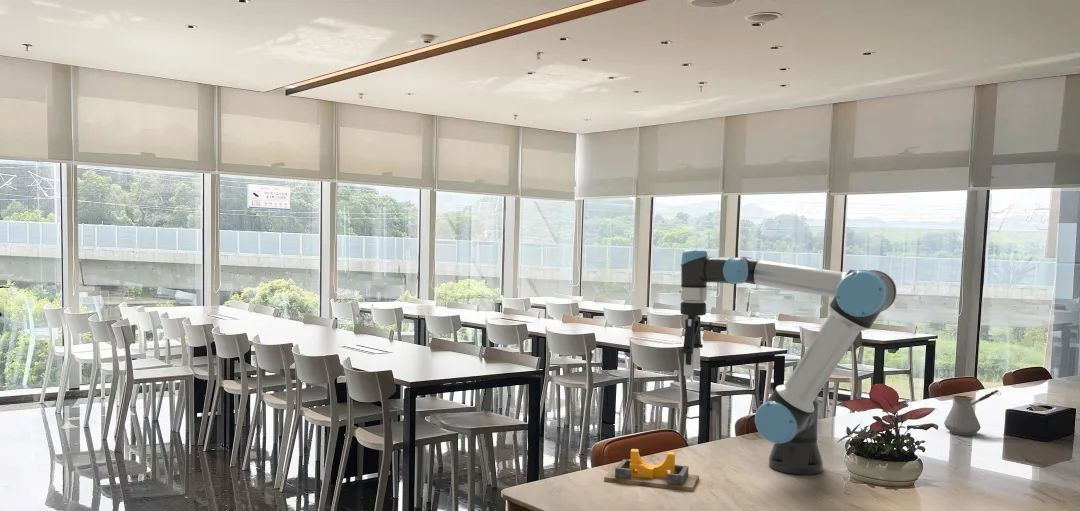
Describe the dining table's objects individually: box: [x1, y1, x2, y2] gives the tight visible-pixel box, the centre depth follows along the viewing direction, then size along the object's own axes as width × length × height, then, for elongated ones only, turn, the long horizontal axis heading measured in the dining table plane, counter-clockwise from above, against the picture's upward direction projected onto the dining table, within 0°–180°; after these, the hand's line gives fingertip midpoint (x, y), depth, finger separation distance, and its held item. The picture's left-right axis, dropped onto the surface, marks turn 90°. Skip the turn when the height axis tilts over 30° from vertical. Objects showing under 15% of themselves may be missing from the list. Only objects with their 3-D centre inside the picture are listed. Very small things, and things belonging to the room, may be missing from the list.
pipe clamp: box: [629, 448, 676, 478], centre depth 218 cm, size 12×4×6 cm, turn 76°
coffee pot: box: [943, 389, 1002, 436], centre depth 283 cm, size 21×12×15 cm, turn 104°
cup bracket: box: [603, 458, 700, 492], centre depth 218 cm, size 24×12×4 cm, turn 71°
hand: (691, 372), depth 238 cm, fingers open, 13 cm apart
